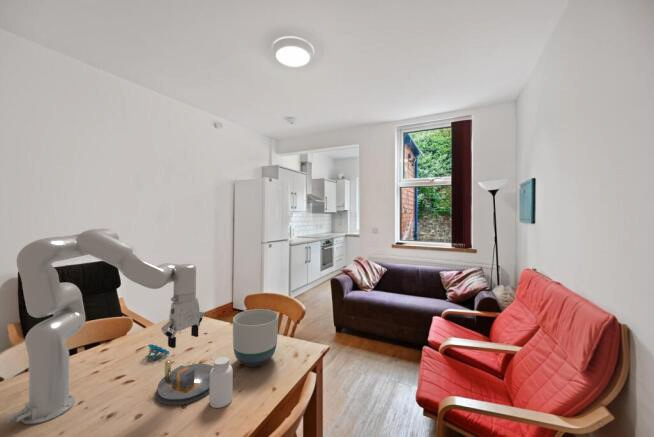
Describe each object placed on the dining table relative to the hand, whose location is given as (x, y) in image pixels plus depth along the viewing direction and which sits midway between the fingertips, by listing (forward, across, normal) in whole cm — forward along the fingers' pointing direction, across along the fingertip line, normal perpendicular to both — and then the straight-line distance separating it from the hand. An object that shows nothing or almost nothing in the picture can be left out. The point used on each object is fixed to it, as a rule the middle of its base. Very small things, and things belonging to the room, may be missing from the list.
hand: (183, 341), depth 100 cm
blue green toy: (+20, +13, +34) cm, 42 cm away
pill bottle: (+20, +3, -16) cm, 26 cm away
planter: (+20, +29, -11) cm, 37 cm away
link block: (+17, 0, 0) cm, 17 cm away
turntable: (+19, +4, +2) cm, 19 cm away
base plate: (+20, +4, +2) cm, 21 cm away
